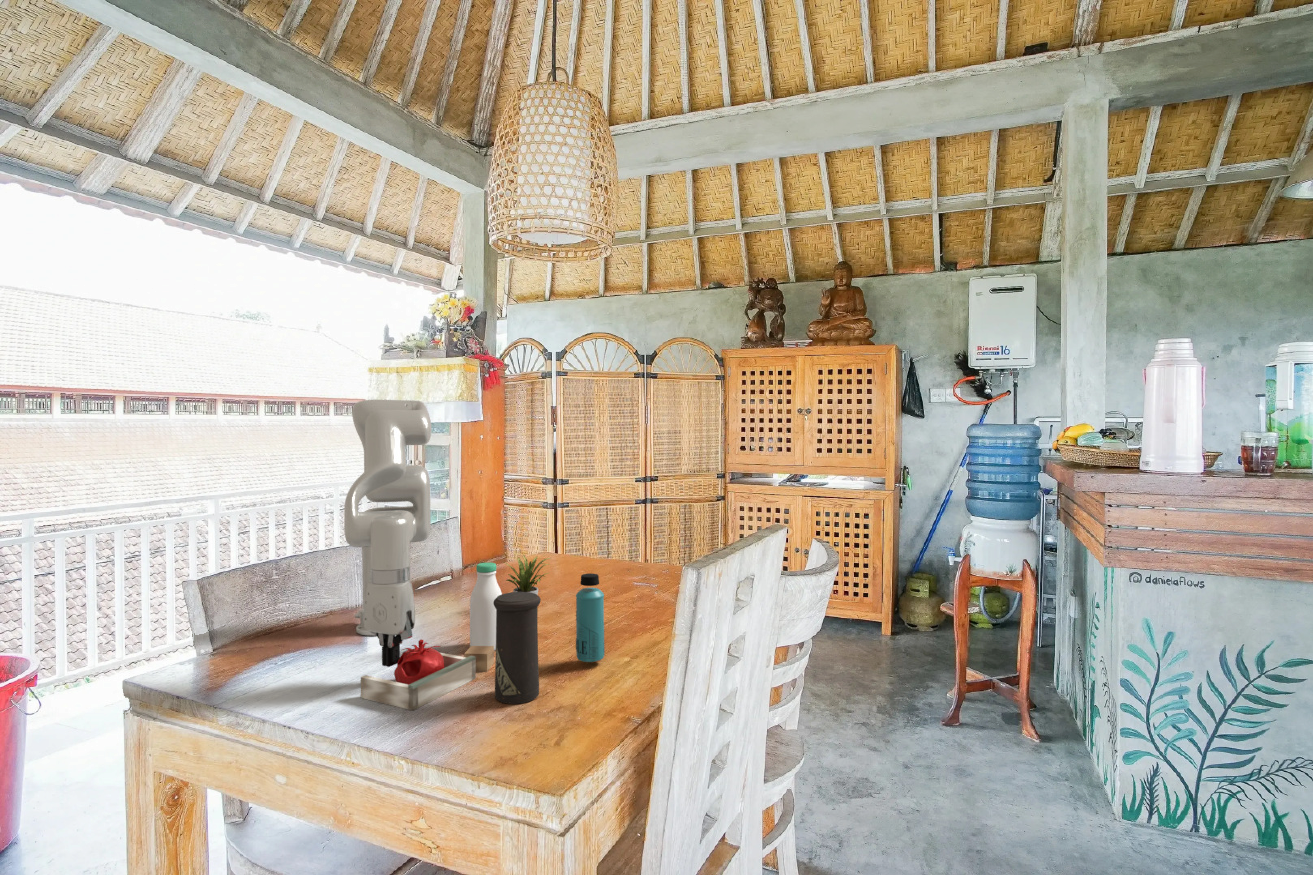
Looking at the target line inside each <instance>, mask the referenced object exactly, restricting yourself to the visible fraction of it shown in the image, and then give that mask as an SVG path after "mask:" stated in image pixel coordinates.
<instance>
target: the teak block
mask: <svg viewBox="0 0 1313 875" xmlns="http://www.w3.org/2000/svg"><path fill="white" fill-rule="evenodd" d="M494 653H495V651H494V646H471V647H470V646H469V648H468V649H467V650H466V651H465V652H464V653H463V654H464V655H463V657H466V658H467V657H469V656H476V673H477V672H479V673H482V672H483V673H484V672H485V673H486V672H487V673H488V671H490V669H491V667H492V666H494V664H495V661H494V660H495V657H494V656H495V654H494Z"/></svg>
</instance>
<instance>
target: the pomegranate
mask: <svg viewBox="0 0 1313 875" xmlns="http://www.w3.org/2000/svg"><path fill="white" fill-rule="evenodd" d="M426 645H429V643H428V642H425V641H424V639H419V640H418V646H417V645H416V644H412V645H411V647H414V648H410V647H405V648H403V649H401V651H404V650H406V651H404V652H402V654H401V655H400V659H399V660H398V662H397V664H396V665H397V666H396V668H395V669H394V671H393V672H394V673H393V675H394V679H395V682H399V683H403V684H408V685H409V684H411V683H413V682H415V681H418V680H420V679H422V678H424V677H426V676H428V675H431V674H433V673H435V672H437V671H439V670H441V669H443V668H444V660H443V656H442V655H441V654H440V653H441V652H439V651H438V650H436V649H435V648H441V645H440V646H439V645H433V646H430V647H425V646H426Z"/></svg>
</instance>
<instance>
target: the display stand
mask: <svg viewBox="0 0 1313 875" xmlns="http://www.w3.org/2000/svg"><path fill="white" fill-rule="evenodd" d="M439 653H440V654H441V655H442V656H443V660H444V668H443V669H441V670H439V671H437V672H435V673H433V674H431V675H428V676H426V677H424V678H422V679H420V680H418V681H415V682H413V683H411V684H409V685H408V684H403V683H399V682H396V681H394V680H390V679H384V678H380V677H377V676H376V677H375V676H372V675H368V674H366V675H363V676H361V677H360V698H361V699H365V700H369V701H372V702H377V703H382V704H385V705H389V706H393V707H397V708H401V709H405V710H409V711H415V710H417V709H419V708H421V707H423V706H425V705H427V704H428V703H431V702H433V701H434V700H437V699H438V698H440V697H441V698H442V696H444V695H446V694H448V693H450V692H452V691H454V690H456V689H458V688H460V687H462V686H464V685H466V684H468V683H469V682H472V681H473V680H475V679H477V676H476V675H477V672H476V656H469V657H467V658H466V657H464V656H460V655H454V654H451V653H449V654H448V653H444V652H439Z"/></svg>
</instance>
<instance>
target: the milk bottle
mask: <svg viewBox="0 0 1313 875" xmlns="http://www.w3.org/2000/svg"><path fill="white" fill-rule="evenodd" d="M475 567H476V569H475V570H476V575H477V577H476V578H477V579H476V582H475V584H474V587H473V590H472V591H471V594H470V600H469V648H470V647H471V646H494V652H496V608H495V606H494V604H493V603H494V600H495V599H496V598H497V597H498V596H499V595H502V594H503V593H502V590H501V587H500V585H499V584H498V580H497V577H496V574H497V564H496V563H495V562H481V563H480V562H479V563H478V564H477V565H476V566H475Z"/></svg>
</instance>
